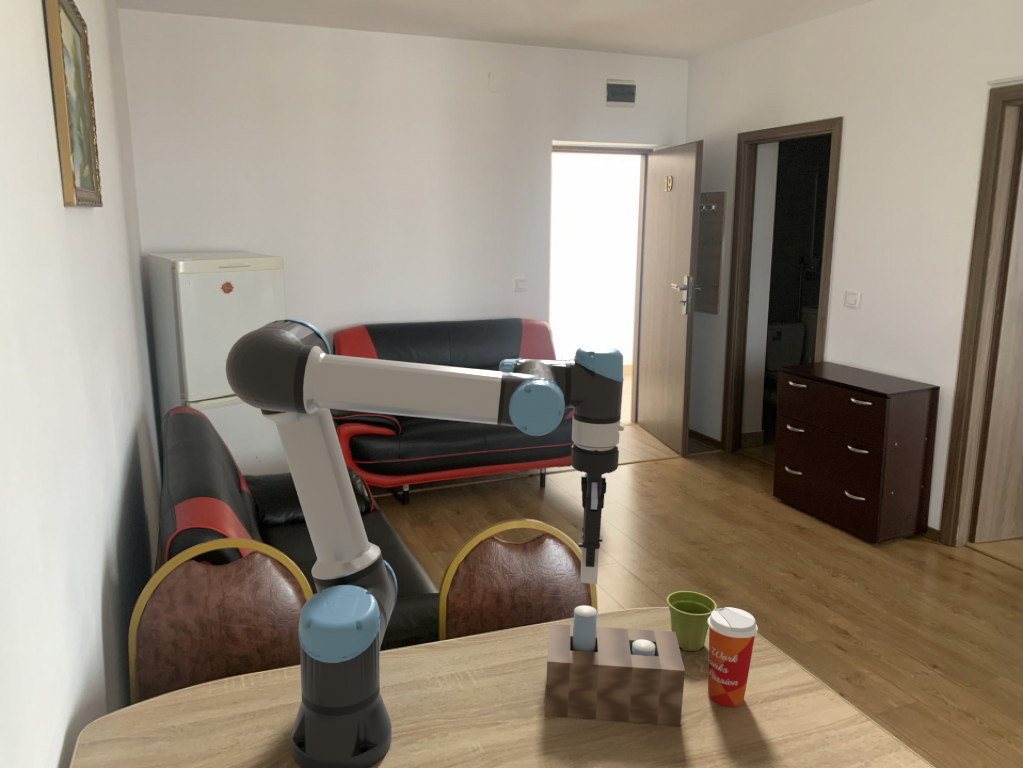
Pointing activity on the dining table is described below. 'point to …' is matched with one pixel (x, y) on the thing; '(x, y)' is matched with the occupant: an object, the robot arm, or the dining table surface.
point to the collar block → (615, 677)
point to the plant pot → (690, 618)
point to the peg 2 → (643, 648)
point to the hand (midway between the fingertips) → (588, 581)
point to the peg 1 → (584, 629)
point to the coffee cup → (729, 654)
